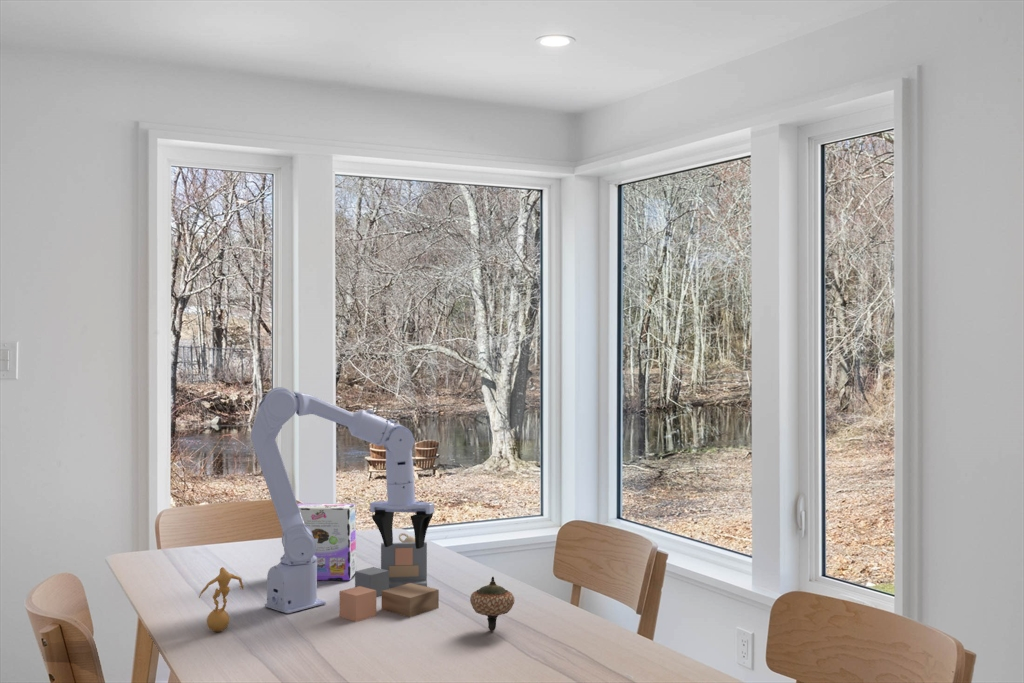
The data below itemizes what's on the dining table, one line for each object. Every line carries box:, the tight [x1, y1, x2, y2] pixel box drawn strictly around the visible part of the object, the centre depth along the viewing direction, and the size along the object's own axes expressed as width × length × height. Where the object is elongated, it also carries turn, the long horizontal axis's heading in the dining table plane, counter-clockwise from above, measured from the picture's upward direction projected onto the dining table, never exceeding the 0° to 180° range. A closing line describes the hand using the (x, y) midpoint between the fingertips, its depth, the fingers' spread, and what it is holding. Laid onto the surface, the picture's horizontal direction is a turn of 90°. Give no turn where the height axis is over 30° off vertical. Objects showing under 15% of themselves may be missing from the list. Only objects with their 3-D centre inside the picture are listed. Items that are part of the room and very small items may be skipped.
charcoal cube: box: [354, 566, 390, 598], centre depth 189 cm, size 5×5×5 cm
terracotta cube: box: [339, 586, 377, 622], centre depth 173 cm, size 5×5×5 cm
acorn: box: [469, 576, 515, 632], centre depth 164 cm, size 8×8×10 cm
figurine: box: [198, 567, 244, 633], centre depth 163 cm, size 8×6×12 cm
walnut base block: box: [381, 583, 440, 618], centre depth 178 cm, size 8×8×4 cm
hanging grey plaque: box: [380, 541, 428, 589], centre depth 197 cm, size 6×10×9 cm, turn 97°
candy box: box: [297, 502, 357, 581], centre depth 203 cm, size 14×6×16 cm, turn 84°
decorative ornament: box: [398, 532, 415, 543], centre depth 223 cm, size 4×8×5 cm, turn 33°
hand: (404, 546), depth 187 cm, fingers open, 7 cm apart
